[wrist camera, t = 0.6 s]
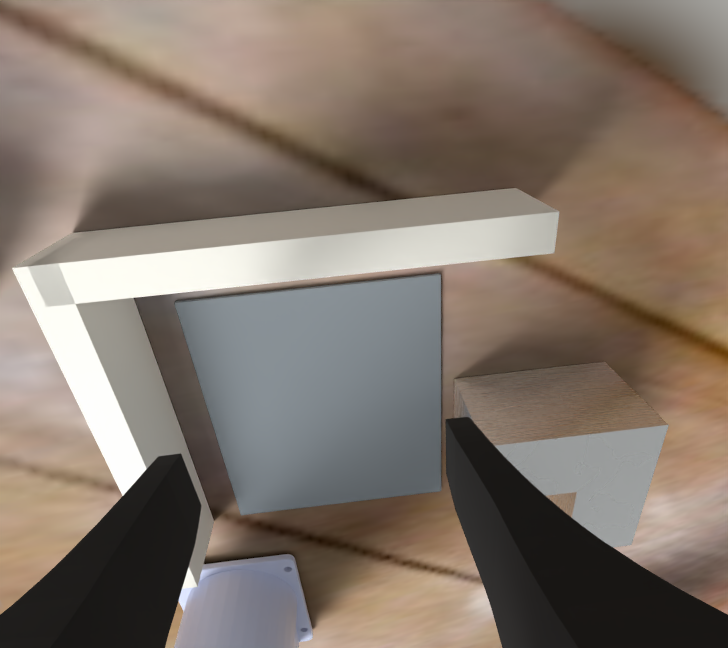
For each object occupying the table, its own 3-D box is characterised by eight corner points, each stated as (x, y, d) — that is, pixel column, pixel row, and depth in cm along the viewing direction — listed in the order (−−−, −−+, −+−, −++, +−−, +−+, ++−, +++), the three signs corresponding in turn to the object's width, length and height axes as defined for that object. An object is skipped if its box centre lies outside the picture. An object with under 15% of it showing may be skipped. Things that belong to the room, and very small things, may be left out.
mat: (440, 488, 27) (441, 491, 27) (241, 512, 27) (241, 515, 27) (440, 273, 21) (440, 274, 20) (175, 301, 20) (174, 303, 20)
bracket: (581, 471, 27) (631, 544, 23) (452, 486, 27) (477, 564, 23) (604, 361, 24) (668, 424, 19) (454, 378, 23) (484, 446, 19)
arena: (492, 487, 28) (517, 547, 24) (189, 524, 27) (168, 590, 23) (515, 187, 19) (559, 211, 15) (71, 233, 18) (12, 268, 15)
